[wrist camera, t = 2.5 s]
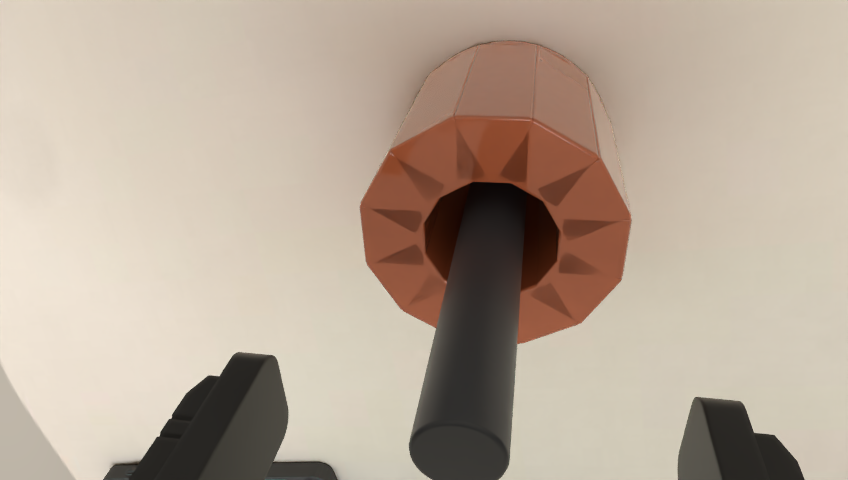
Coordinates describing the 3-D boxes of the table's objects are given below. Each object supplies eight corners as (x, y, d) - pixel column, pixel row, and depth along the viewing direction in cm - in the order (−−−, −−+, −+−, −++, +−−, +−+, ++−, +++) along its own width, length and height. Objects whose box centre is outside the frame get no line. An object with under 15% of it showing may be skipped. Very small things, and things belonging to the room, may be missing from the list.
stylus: (479, 121, 22) (404, 417, 11) (531, 122, 22) (510, 428, 10) (479, 167, 23) (411, 484, 12) (528, 169, 23) (507, 496, 11)
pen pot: (403, 40, 21) (348, 113, 15) (620, 40, 20) (648, 120, 14) (413, 220, 25) (372, 333, 19) (596, 229, 24) (611, 352, 18)
